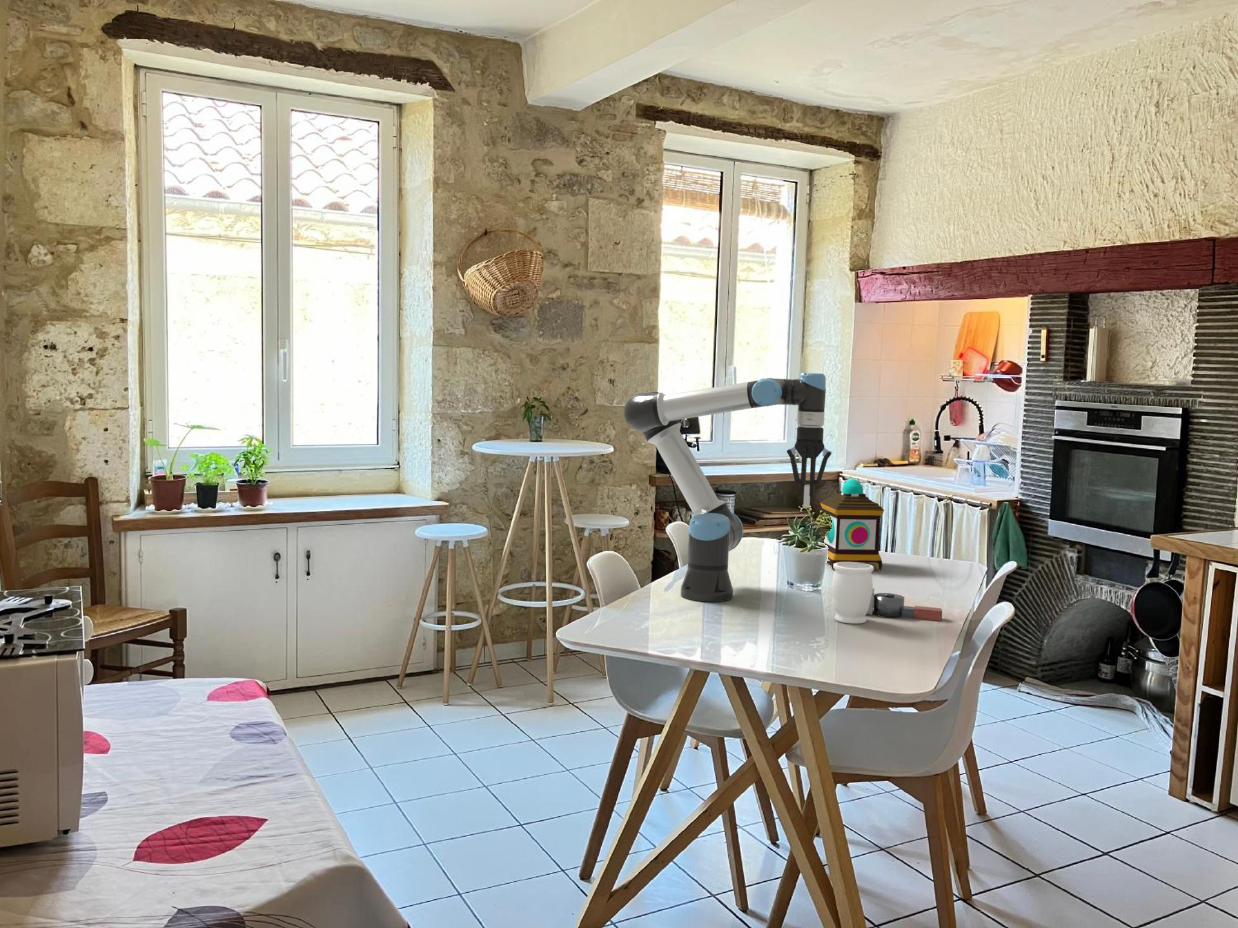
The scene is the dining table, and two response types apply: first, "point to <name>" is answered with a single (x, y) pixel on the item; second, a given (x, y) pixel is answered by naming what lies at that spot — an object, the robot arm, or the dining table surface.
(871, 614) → the grey cube
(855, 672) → the dining table surface
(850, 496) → the decorative lantern
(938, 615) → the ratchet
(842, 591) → the jar
